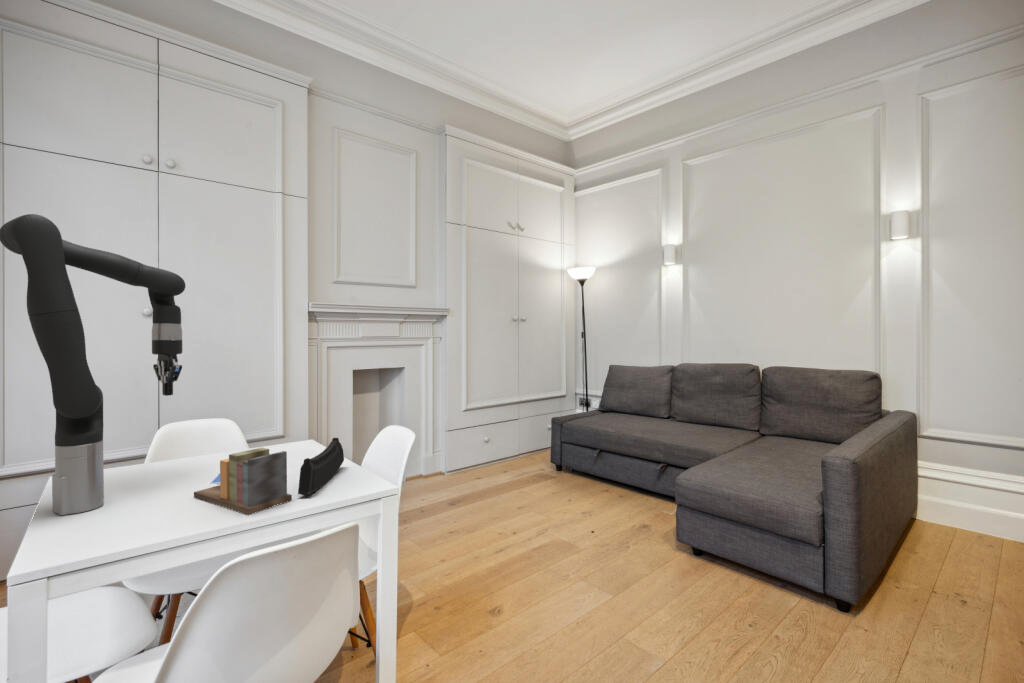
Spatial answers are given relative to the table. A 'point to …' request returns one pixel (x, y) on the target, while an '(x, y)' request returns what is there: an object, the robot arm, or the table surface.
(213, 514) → the table surface
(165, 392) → the robot arm
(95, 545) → the table surface
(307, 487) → the magazine
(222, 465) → the loose bookend
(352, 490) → the table surface
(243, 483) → the book row
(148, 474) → the table surface
